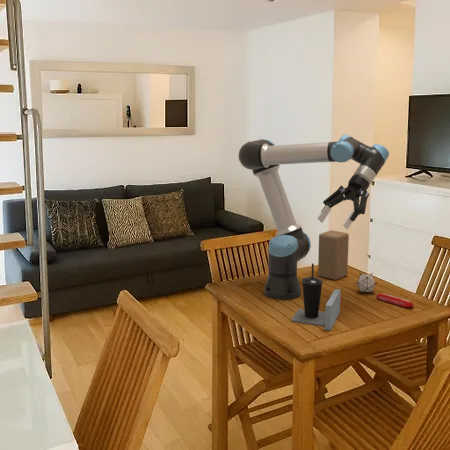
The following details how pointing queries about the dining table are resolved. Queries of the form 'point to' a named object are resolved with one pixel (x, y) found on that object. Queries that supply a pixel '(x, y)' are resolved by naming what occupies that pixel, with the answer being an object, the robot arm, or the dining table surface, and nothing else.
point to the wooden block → (333, 254)
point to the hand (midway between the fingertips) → (332, 223)
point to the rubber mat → (301, 318)
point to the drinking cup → (312, 295)
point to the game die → (366, 283)
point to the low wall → (332, 309)
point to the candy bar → (395, 300)
